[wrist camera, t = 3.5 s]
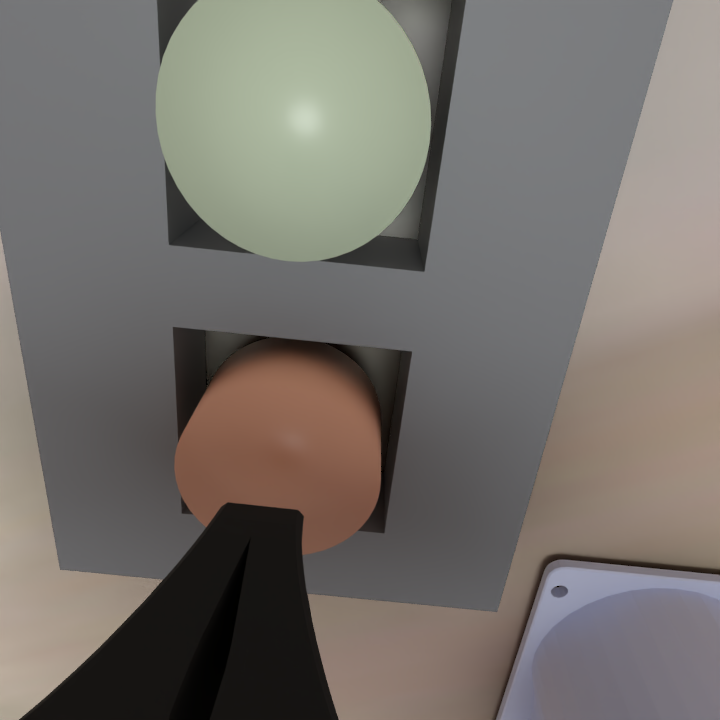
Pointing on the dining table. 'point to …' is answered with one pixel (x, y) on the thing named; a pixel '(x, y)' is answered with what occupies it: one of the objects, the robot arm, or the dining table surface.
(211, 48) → the button sage
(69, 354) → the button panel
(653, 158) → the dining table surface
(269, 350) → the button terracotta
